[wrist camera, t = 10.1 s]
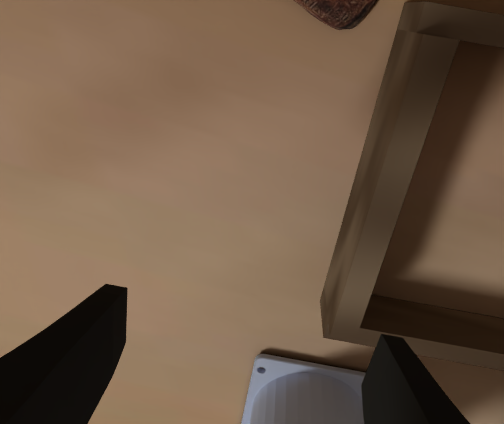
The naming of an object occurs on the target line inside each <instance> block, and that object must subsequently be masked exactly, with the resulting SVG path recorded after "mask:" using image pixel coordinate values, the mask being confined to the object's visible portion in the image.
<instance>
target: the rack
mask: <svg viewBox="0 0 504 424" xmlns="http://www.w3.org/2000/svg"><path fill="white" fill-rule="evenodd" d="M454 39H455V40H454ZM460 40H461V41H466V42H472V43H478V44H483V45H489V46H495V47H500V48H504V15H501V14H495V13H489V12H484V11H478V10H472V9H466V8H461V7H455V6H449V5H443V4H438V3H432V2H426V1H422V2H405V3H404V7H403V10H402V14H401V17H400V21H399V24H398V28H397V31H396V35H395V38H394V42H393V45H392V49H391V52H390V56H389V59H388V63H387V66H386V70H385V74H384V77H383V81H382V84H381V88H380V91H379V95H378V98H377V102H376V105H375V109H374V112H373V116H372V119H371V123H370V126H369V130H368V133H367V137H366V140H365V144H364V148H363V151H362V155H361V158H360V162H359V165H358V169H357V172H356V176H355V179H354V183H353V186H352V190H351V193H350V197H349V200H348V204H347V207H346V211H345V214H344V218H343V222H342V225H341V229H340V232H339V236H338V239H337V243H336V246H335V250H334V253H333V257H332V260H331V264H330V267H329V271H328V274H327V278H326V281H325V285H324V288H323V292H322V296H321V299H320V305H321V316H322V327H323V338H328V339H333V340H339V341H344V342H350V343H355V344H361V345H366V346H372V347H376V346H377V343H378V340H379V338H380V335H381V334H386V335H391V336H397V337H402V338H403V339H404V340H405V341H406V342H407V344H408V345H409V346H410V348H411V349H412V350H413V352H414V353H415V354H416V355H421V356H426V357H431V358H437V359H442V360H448V361H453V362H459V363H464V364H470V365H475V366H480V367H486V368H491V369H497V370H502V371H504V319H502V318H496V317H491V316H485V315H480V314H474V313H469V312H463V311H458V310H452V309H447V308H441V307H436V306H430V305H425V304H419V303H414V302H408V301H403V300H397V299H392V298H386V297H381V296H375V295H371V294H372V291H373V288H374V285H375V282H376V279H377V277H378V274H379V271H380V268H381V265H382V262H383V259H384V256H385V254H386V251H387V248H388V245H389V242H390V239H391V236H392V233H393V231H394V228H395V225H396V222H397V219H398V216H399V213H400V210H401V207H402V205H403V202H404V199H405V196H406V193H407V190H408V187H409V184H410V182H411V179H412V176H413V173H414V170H415V167H416V164H417V161H418V159H419V156H420V153H421V150H422V147H423V144H424V141H425V138H426V136H427V133H428V130H429V127H430V124H431V121H432V118H433V115H434V113H435V110H436V107H437V104H438V101H439V98H440V95H441V92H442V89H443V87H444V84H445V81H446V78H447V75H448V72H449V69H450V66H451V64H452V61H453V58H454V55H455V52H456V49H457V46H458V43H459V41H460Z"/></svg>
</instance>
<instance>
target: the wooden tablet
mask: <svg viewBox="0 0 504 424" xmlns="http://www.w3.org/2000/svg"><path fill="white" fill-rule="evenodd" d="M294 1H295V2H297V3H298V4H299V5H301V6H302V7H303V8H304V9H305V10H307V11H308V12H309V13H310V14H311V15H313V16H314V17H316V18H317V19H318V20H320V21H322V22H323V23H325V24H327V25H329V26H331V27H332V28H335V29H338V30H342V29H352V28H354V27H356V26H357V25H358V24H359V23H360V22H361V21H362V20H363V19H364V17H365V16H366V15H367V13H368V12H369V11H370V9H371V8H372V6H373V5H374V4H375V2H376V1H377V0H294Z"/></svg>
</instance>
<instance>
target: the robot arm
mask: <svg viewBox="0 0 504 424" xmlns="http://www.w3.org/2000/svg"><path fill="white" fill-rule="evenodd" d="M126 319H127V288H126V287H120V286H115V285H109V284H105V285H104V286H102V287H101V288H100V289H98V290H97V291H96V292H94V293H93V294H92V295H90V296H89V297H88V298H86V299H85V300H84V301H82V302H81V303H80V304H79V305H77V306H76V307H75V308H73V309H72V310H71V311H69V312H68V313H67V314H65V315H64V316H62V317H61V318H60V319H58V320H57V321H55V322H54V323H53V324H51V325H50V326H48V327H47V328H46V329H44V330H43V331H41V332H40V333H38V334H37V335H35V336H34V337H32V338H31V339H29V340H28V341H26V342H25V343H23V344H21V345H20V346H18V347H17V348H15V349H14V350H12V351H11V352H9V353H7V354H6V355H4V356H2V357H1V358H0V424H88V422H89V420H90V418H91V416H92V414H93V412H94V410H95V409H96V407H97V405H98V403H99V401H100V399H101V397H102V395H103V394H104V392H105V390H106V388H107V386H108V384H109V382H110V380H111V378H112V376H113V374H114V372H115V369H116V367H117V364H118V362H119V359H120V356H121V354H122V351H123V349H124V346H125V343H126ZM259 367H263V368H264V369H261V368H259ZM241 424H470V423H469V422H468V421H467V420H466V418H465V417H464V416H463V415H462V414H461V412H460V411H459V410H458V409H457V408H456V406H455V405H454V404H453V403H452V401H451V400H450V399H449V398H448V396H447V395H446V394H445V393H444V391H443V390H442V389H441V387H440V386H439V385H438V384H437V382H436V381H435V380H434V378H433V377H432V376H431V374H430V373H429V372H428V370H427V369H426V368H425V366H424V365H423V364H422V362H421V361H420V360H419V358H418V357H417V356H416V354H415V353H414V352H413V350H412V349H411V348H410V346H409V345H408V344H407V342H406V341H405V340H404V339H403V338H402V337H397V336H391V335H386V334H381V335H380V338H379V340H378V343H377V346H376V348H375V351H374V353H373V356H372V359H371V361H370V364H369V366H368V369H367V372H366V373H365V372H360V371H354V370H349V369H343V368H338V367H333V366H327V365H322V364H316V363H311V362H306V361H300V360H295V359H289V358H284V357H278V356H273V355H268V354H259V355H257V356H256V358H255V361H254V366H253V371H252V375H251V380H250V384H249V389H248V394H247V398H246V403H245V408H244V412H243V417H242V422H241Z"/></svg>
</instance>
